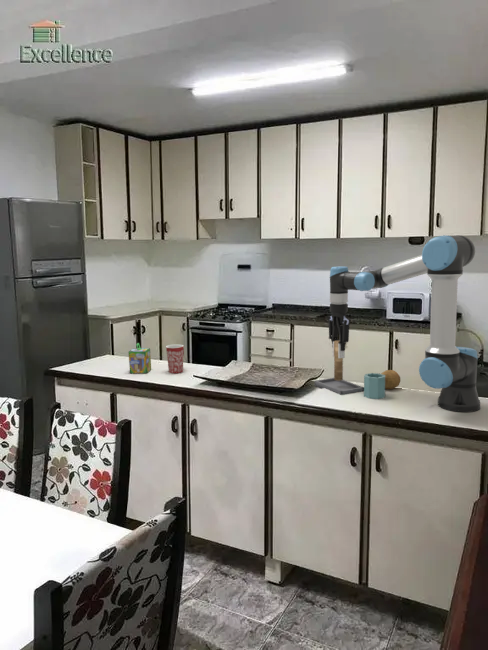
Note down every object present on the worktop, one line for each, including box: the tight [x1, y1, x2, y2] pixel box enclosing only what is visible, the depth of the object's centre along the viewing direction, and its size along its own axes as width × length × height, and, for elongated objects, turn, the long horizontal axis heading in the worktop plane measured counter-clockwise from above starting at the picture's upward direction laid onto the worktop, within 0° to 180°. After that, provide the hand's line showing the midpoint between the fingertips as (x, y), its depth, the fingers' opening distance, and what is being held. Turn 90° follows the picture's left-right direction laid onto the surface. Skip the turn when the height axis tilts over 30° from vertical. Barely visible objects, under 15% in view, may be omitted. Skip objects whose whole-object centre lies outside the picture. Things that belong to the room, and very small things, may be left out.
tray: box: [314, 377, 364, 396], centre depth 228 cm, size 20×12×2 cm, turn 25°
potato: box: [380, 369, 401, 390], centre depth 227 cm, size 10×14×8 cm
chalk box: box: [127, 342, 152, 375], centre depth 270 cm, size 9×9×15 cm
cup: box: [363, 372, 386, 400], centre depth 214 cm, size 8×8×10 cm
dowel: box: [333, 340, 344, 381], centre depth 227 cm, size 4×4×17 cm
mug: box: [165, 343, 185, 374], centre depth 269 cm, size 13×9×14 cm
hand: (338, 356), depth 227 cm, fingers closed on dowel, 3 cm apart
